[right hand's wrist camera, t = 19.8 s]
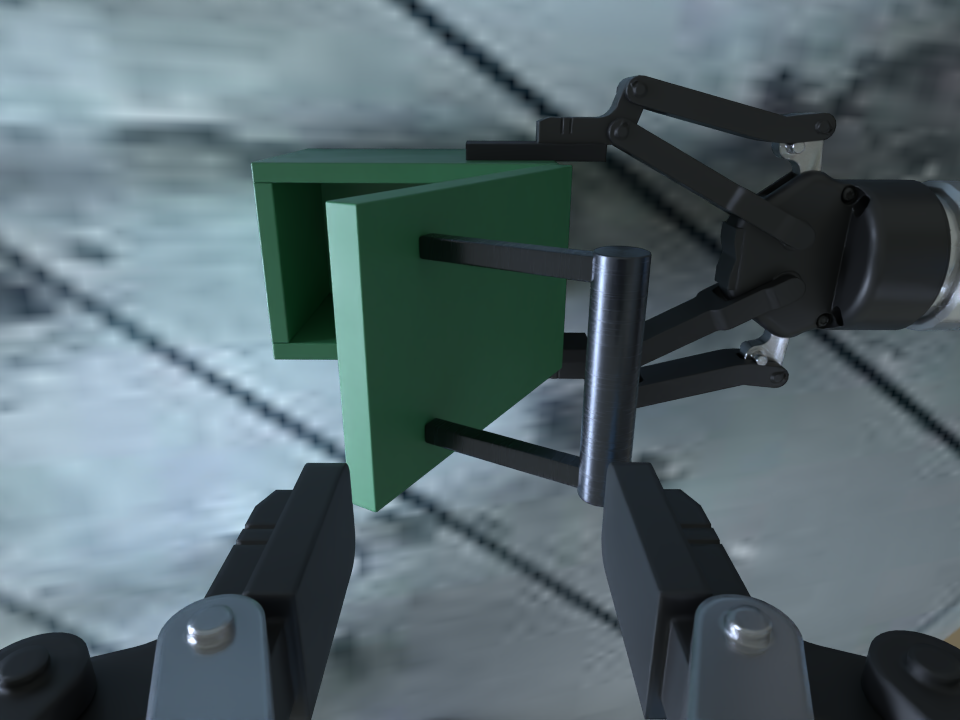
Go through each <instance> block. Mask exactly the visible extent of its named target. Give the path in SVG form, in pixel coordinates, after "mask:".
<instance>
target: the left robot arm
mask: <svg viewBox="0 0 960 720" xmlns="http://www.w3.org/2000/svg"><path fill="white" fill-rule="evenodd" d="M643 109H645V110H649V111H652V112H656V113H659V114H663V115H666V116H670V117H673V118H677V119H680V120H684V121H688V122H691V123H695V124H698V125H702V126H705V127H709V128H712V129H716V130H719V131H723V132H726V133H730V134H733V135H737V136H741V137H744V138H748V139H753V140H758V141H766V142H772V151H773V154H774V155H775V156H777V157H778V158H783V159H786V160H788V161H789V162H790V163H791V166H792V171H791V172H789V173H788V174H786V175H785V176H783V177H782V178H780V179H779V180H777V181H776V182H774V183H773V184H771V185H770V186H768V187H767V188H765V189H764V190H762V191H761V192H759V193H758V194H755V193H753V192H751V191H749V190H748V189H746V188H744V187H742V186H740V185H738V184H736V183H734V182H733V181H731V180H729V179H728V178H726V177H724V176H723V175H721V174H719V173H718V172H716V171H714V170H713V169H711V168H709V167H707V166H706V165H704V164H702V163H701V162H699V161H697V160H696V159H694V158H692V157H691V156H689V155H687V154H686V153H684V152H682V151H681V150H679V149H677V148H676V147H674V146H672V145H671V144H669V143H667V142H666V141H664V140H662V139H661V138H659V137H657V136H655V135H654V134H652V133H650V132H649V131H647V130H645V129H644V128H642V127H640V126H639V125H637V123H638V120H639V118H640V116H641V113H642V111H643ZM835 128H836V120H835V118H834V117H833V116H832V115H831V114H829V113H805V112H799V113H789V114H780V115H779V114H776V113H772V112H769V111H765V110H762V109H758V108H755V107H751V106H748V105H744V104H741V103H737V102H734V101H731V100H727V99H724V98H720V97H717V96H713V95H710V94H706V93H703V92H699V91H696V90H692V89H689V88H685V87H682V86H678V85H675V84H671V83H668V82H665V81H661V80H658V79H654V78H651V77H647V76H641V75H639V76H633V77H628V78H625V79H623V80H622V81H621V82H620V83H619V85H618V87H617V92H616V96H615V98H614V101H613V103H612V105H611V107H610V109H609V110H608V111H607V113H605V114H604V115H602V116H599V117H545V118H543V119H540V120H538V121H536V141H467V142H466V160H525V161H595V162H606V151H607V145H613V146H615V147H616V148H618V149H620V150H621V151H623V152H625V153H627V154H628V155H630V156H632V157H633V158H635V159H637V160H639V161H640V162H642V163H644V164H645V165H647V166H649V167H650V168H652V169H654V170H656V171H657V172H659V173H661V174H662V175H664V176H666V177H668V178H669V179H671V180H673V181H674V182H676V183H678V184H679V185H681V186H683V187H685V188H686V189H688V190H690V191H691V192H693V193H695V194H697V195H698V196H700V197H702V198H703V199H705V200H707V201H708V202H710V203H711V204H713V205H715V206H716V207H718V208H720V209H721V210H723V211H725V212H726V213H728V214H730V216H729V218H728V219H727V222H723V223H722V230H721V243H722V254H721V257H720V259H719V261H718V264H717V267H716V274H715V281H716V282H718V283H716V284H714V285H712V286H710V287H708V288H706V289H704V290H702V291H700V292H699V293H698V294H697V296H696V297H695V298H693V299H691V300H689V301H687V302H685V303H682V304H680V305H678V306H676V307H674V308H672V309H670V310H668V311H666V312H664V313H662V314H659V315H657V316H655V317H653V318H651V319H649V320H647V321H645V325H644V335H643V346H642V356H641V366H642V365H644V364H646V363H648V362H651V361H653V360H655V359H657V358H659V357H661V356H664V355H666V354H668V353H670V352H672V351H674V350H676V349H679V348H681V347H683V346H685V345H687V344H689V343H691V342H694V341H696V340H698V339H700V338H702V337H704V336H707V335H709V334H711V333H713V332H715V331H718V330H729V329H731V328H734V327H736V326H738V325H740V324H742V323H745V322H747V321H749V320H751V319H753V320H754V321H756V322H757V323H758V324H759V325H761V326H762V327H763V328H765V331H764V333H763V335H762V336H761V337H759V338H758V339H755V340H749V341H744V342H743V343H741V345H740V349H734V348H732V349H722V350H716V351H711V352H707V353H702V354H698V355H693V356H689V357H685V358H680V359H676V360H671V361H667V362H662V363H658V364H653V365H649V366H644V367H640V376H639V387H638V397H637V407H636V408H639V407H644V406H648V405H653V404H657V403H662V402H667V401H671V400H676V399H680V398H685V397H689V396H694V395H699V394H703V393H708V392H712V391H717V390H721V389H726V388H731V387H735V386H740V385H751V386H761V387H771V388H778V387H781V386H783V385H784V384H785V383H786V382H787V380H788V376H789V374H788V372H787V370H786V369H785V368H783V367H782V363H783V359H784V356H785V352H786V349H787V345H788V342H789V339H790V338H791V337H795V336H797V335H799V334H801V333H803V332H806V331H809V330H813V329H829V330H898V329H903V328H907V329H911V330H917V331H927V330H960V181H951V180H929V181H926V182H923V183H921V182H918V181H915V180H839V179H834V178H832V177H830V176H828V175H827V174H825V173H824V172H821V165H822V153H823V142H824V140H825V139H828V138H829V137H830V136H832V134H833V133H834V131H835ZM586 352H587V336H586V334H585V333H564V339H563V358H562V368H561V369H560V370H558V371H557V372H556V373H555V374H553V375H552V376H551V377H549V378H551V379H557V378H559V379H585V367H586Z"/></svg>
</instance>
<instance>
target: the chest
mask: <svg viewBox="0 0 960 720" xmlns="http://www.w3.org/2000/svg"><path fill="white" fill-rule="evenodd" d="M548 164H555V165H559V164H558V163H557V162H555V161H525V160H466V149H305V150H300V151H296V152H292V153H288V154H284V155H280V156H276V157H272V158H268V159H264V160H260V161H256V162H252V163H251V168H252V177H253V182H255V183H254V184H253V185H254V194H255V203H256V211H257V220H258V228H259V237H260V245H261V254H262V262H263V271H264V279H265V288H266V297H267V305H268V314H269V322H270V331H271V339H272V342H273V344H272V347H273V356H274V359H302V360H338V353H337V340H336V328H335V315H334V303H333V290H332V278H331V265H330V252H329V240H328V227H327V215H326V202H327V201H330V200H336V199H342V198H348V197H354V196H360V195H366V194H372V193H378V192H384V191H390V190H397V189H403V188H409V187H415V186H421V185H427V184H433V183H439V182H445V181H451V180H457V179H463V178H469V177H476V176H482V175H488V174H494V173H500V172H506V171H512V170H518V169H524V168H530V167H536V166H542V165H548Z"/></svg>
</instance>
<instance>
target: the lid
mask: <svg viewBox="0 0 960 720" xmlns="http://www.w3.org/2000/svg"><path fill="white" fill-rule="evenodd" d="M571 184H572V166H571V165H555V164H548V165H542V166H536V167H530V168H524V169H518V170H512V171H506V172H500V173H494V174H488V175H482V176H476V177H469V178H463V179H457V180H451V181H445V182H439V183H433V184H427V185H421V186H415V187H409V188H403V189H397V190H390V191H384V192H378V193H372V194H366V195H360V196H354V197H348V198H342V199H336V200H330V201H327V202H326V215H327V227H328V240H329V252H330V265H331V278H332V290H333V303H334V315H335V328H336V340H337V353H338V366H339V378H340V391H341V403H342V416H343V429H344V441H345V454H346V463H347V464H348V466H349V470H350V478H351V490H352V503H353V504H355V505H358V506H360V507H363V508H366V509H368V510H371V511H374V512H378V511H379V510H380V509H381V508H383V507H384V506H385V505H387V504H388V503H389V502H390V501H392V500H393V499H394V498H396V497H397V496H398V495H399V494H401V493H402V492H403V491H405V490H406V489H407V488H408V487H410V486H411V485H412V484H414V483H415V482H416V481H417V480H419V479H420V478H421V477H422V476H424V475H425V474H426V473H428V472H429V471H430V470H431V469H433V468H434V467H435V466H437V465H438V464H439V463H440V462H442V461H443V460H444V459H446V458H447V457H448V456H449V455H451V454H452V453H453V452H455V451H456V452H459V453H462V454H466V455H469V456H472V457H476V458H479V459H482V460H486V461H489V462H493V463H496V464H499V465H503V466H506V467H509V468H513V469H516V470H519V471H523V472H526V473H530V474H533V475H536V476H540V477H543V478H546V479H550V480H553V481H556V482H560V483H563V484H567V485H570V486H573V487H577V488H578V489H577V491H578V494H579V496H580V498H581V499H582V500H584V501H585V502H587V503H589V504H591V505H594V506H599V507H604V499H605V487H606V475H607V468H608V465H609V463H611V462H631V458H632V448H633V438H634V428H635V417H636V407H637V397H638V387H639V376H640V366H641V356H642V346H643V335H644V325H645V315H646V305H647V295H648V284H649V274H650V264H651V252H650V251H648V250H645V249H642V248H637V247H629V246H605V247H600V248H596V249H595V250H594V251H585V250H576V249H568V242H569V223H570V204H571ZM567 279H570V280H577V281H585V282H591V291H590V306H589V321H588V336H587V352H586V367H585V382H584V397H583V413H582V428H581V443H580V457H578V456H575V455H571V454H567V453H564V452H560V451H556V450H553V449H549V448H545V447H542V446H538V445H535V444H531V443H527V442H524V441H520V440H516V439H513V438H509V437H505V436H502V435H498V434H494V433H491V432H487V431H483V429H484V428H485V427H487V426H488V425H489V424H490V423H492V422H493V421H494V420H496V419H497V418H498V417H499V416H501V415H502V414H503V413H505V412H506V411H507V410H508V409H510V408H511V407H512V406H514V405H515V404H516V403H517V402H519V401H520V400H521V399H523V398H524V397H525V396H526V395H528V394H529V393H530V392H531V391H533V390H534V389H535V388H537V387H538V386H539V385H540V384H542V383H543V382H544V381H546V380H547V379H548V378H549V377H551V376H552V375H553V374H555V373H556V372H557V371H558V370H560V369H561V368H562V358H563V339H564V319H565V300H566V281H567Z"/></svg>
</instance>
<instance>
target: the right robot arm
mask: <svg viewBox="0 0 960 720" xmlns="http://www.w3.org/2000/svg"><path fill="white" fill-rule="evenodd" d="M354 555H355V527H354V515H353V503H352V490H351V478H350V470H349V466H348V464H347V463H306V465H305V466H304V468H303V470H302V472H301V474H300V476H299V478H298V480H297V482H296V484H295V486H294V488H293V490H275V491H274V492H273V493H272V494H270V495H269V496H268V497H267V498H265V499H264V500H263V501H261V502H260V503H259V504H258V505H256V506H255V508H254V510H253V512H252V513H251V515H250V517H249V519H248V521H247V522H246V524H245V529H243V530H242V531H241V533H240V535H239V537H238V539H237V540H236V545H234V546H233V547H232V549H231V551H230V553H229V555H228V556H227V558H226V560H225V562H224V564H223V565H222V567H221V569H220V571H219V573H218V574H217V576H216V578H215V580H214V582H213V583H212V585H211V587H210V589H209V590H208V592H207V594H206V596H205V598H204V599H201V600H199V601H196V602H194V603H192V604H190V605H188V606H186V607H185V608H183V609H181V610H180V611H179V612H177V613H176V614H175V615H173V616H172V617H171V618H170V619H169V620H168V621H167V622H166V624H165V625H164V626H163V628H162V629H161V631H160V633H159V635H158V639H157V640H154V641H152V642H149V643H147V644H144V645H140V646H136V647H133V648H128V649H124V650H120V651H116V652H112V653H107V654H103V655H99V656H95V657H91V658H90V655H89V651H88V648H87V645H86V643H85V642H84V641H83V640H82V639H81V638H79V637H78V636H76V635H73V634H69V633H46V634H40V635H36V636H32V637H29V638H26V639H23V640H20V641H18V642H15V643H13V644H11V645H9V646H7V647H5V648H3V649H1V650H0V720H311V718H312V714H313V710H314V707H315V703H316V700H317V696H318V692H319V689H320V685H321V681H322V678H323V674H324V670H325V667H326V663H327V659H328V656H329V652H330V649H331V645H332V641H333V638H334V634H335V630H336V627H337V623H338V619H339V616H340V612H341V608H342V605H343V601H344V598H345V594H346V590H347V587H348V583H349V579H350V576H351V572H352V568H353V563H354ZM602 556H603V563H604V568H605V572H606V576H607V580H608V583H609V587H610V591H611V595H612V598H613V602H614V606H615V610H616V613H617V617H618V621H619V625H620V628H621V632H622V636H623V639H624V643H625V647H626V651H627V654H628V658H629V662H630V666H631V669H632V673H633V677H634V680H635V684H636V688H637V692H638V695H639V699H640V703H641V707H642V710H643V714H644V718H645V719H667V720H960V649H958V648H957V647H955V646H953V645H951V644H949V643H947V642H945V641H942V640H940V639H938V638H935V637H932V636H929V635H926V634H922V633H918V632H912V631H899V630H895V631H888V632H885V633H882V634H880V635H878V636H877V637H875V638H874V640H873V641H872V642H871V645H870V648H869V651H868V655H867V657H865V656H861V655H857V654H852V653H848V652H844V651H840V650H835V649H831V648H827V647H823V646H819V645H815V644H812V643H809V642H806V641H803V639H802V635H801V633H800V631H799V629H798V628H797V626H796V625H795V624H794V622H793V621H792V620H791V619H790V618H789V617H788V616H787V615H785V614H784V613H783V612H781V611H780V610H779V609H777V608H775V607H774V606H772V605H770V604H768V603H766V602H764V601H761V600H759V599H756V598H753V597H751V596H750V594H749V592H748V591H747V589H746V587H745V585H744V583H743V582H742V580H741V578H740V576H739V574H738V572H737V571H736V569H735V567H734V565H733V563H732V562H731V560H730V558H729V556H728V554H727V552H726V551H725V549H724V547H723V545H722V544H720V540H719V538H718V536H717V534H716V532H715V531H714V529H713V528H711V523H710V522H709V520H708V518H707V516H706V514H705V512H704V511H703V509H702V507H701V505H699V504H698V503H697V502H696V501H694V500H693V499H692V498H691V497H689V496H688V495H687V494H686V493H684V492H683V491H682V490H681V489H663V487H662V485H661V483H660V481H659V479H658V477H657V475H656V473H655V471H654V468H653V466H652V465H651V463H649V462H611V463H609V465H608V468H607V475H606V487H605V499H604V512H603V524H602Z"/></svg>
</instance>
